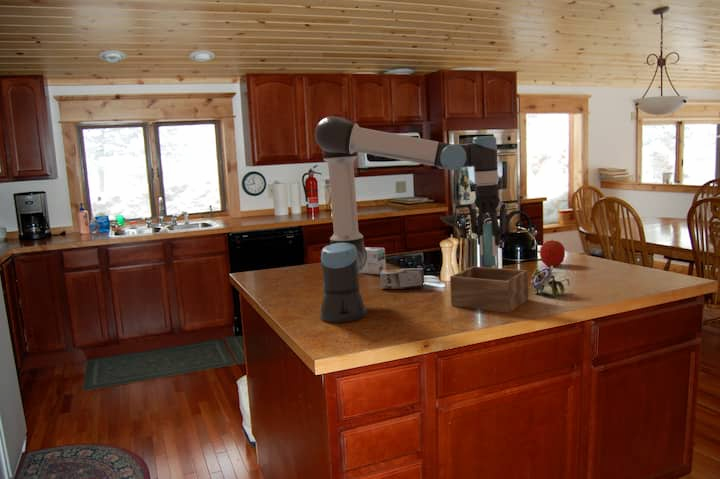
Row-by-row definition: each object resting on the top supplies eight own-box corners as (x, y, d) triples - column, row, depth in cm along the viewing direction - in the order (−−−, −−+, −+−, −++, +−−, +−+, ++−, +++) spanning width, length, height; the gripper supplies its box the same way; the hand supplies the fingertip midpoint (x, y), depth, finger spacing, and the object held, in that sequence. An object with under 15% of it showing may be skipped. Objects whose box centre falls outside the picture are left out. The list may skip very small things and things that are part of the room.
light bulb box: (386, 271, 246) (385, 247, 244) (379, 274, 240) (377, 250, 239) (366, 270, 252) (364, 246, 250) (358, 273, 246) (356, 249, 245)
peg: (492, 266, 182) (490, 224, 180) (482, 265, 184) (480, 224, 182) (497, 264, 185) (495, 222, 183) (487, 263, 187) (485, 222, 185)
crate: (508, 312, 174) (507, 281, 173) (451, 305, 186) (450, 276, 185) (528, 299, 187) (527, 270, 186) (473, 293, 200) (472, 266, 198)
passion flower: (537, 309, 194) (522, 279, 198) (564, 299, 196) (548, 270, 201) (550, 298, 184) (533, 266, 188) (578, 288, 186) (560, 257, 191)
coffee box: (380, 289, 214) (422, 289, 210) (379, 273, 213) (421, 272, 209) (384, 284, 222) (424, 283, 219) (383, 268, 222) (423, 267, 218)
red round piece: (568, 267, 230) (568, 240, 229) (544, 268, 231) (544, 241, 229) (560, 262, 240) (560, 236, 239) (537, 264, 241) (536, 237, 239)
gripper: (515, 182, 179) (517, 253, 182) (468, 183, 189) (471, 251, 192) (506, 184, 173) (508, 258, 176) (458, 185, 183) (461, 255, 186)
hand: (489, 254), depth 184 cm, fingers closed on peg, 3 cm apart
